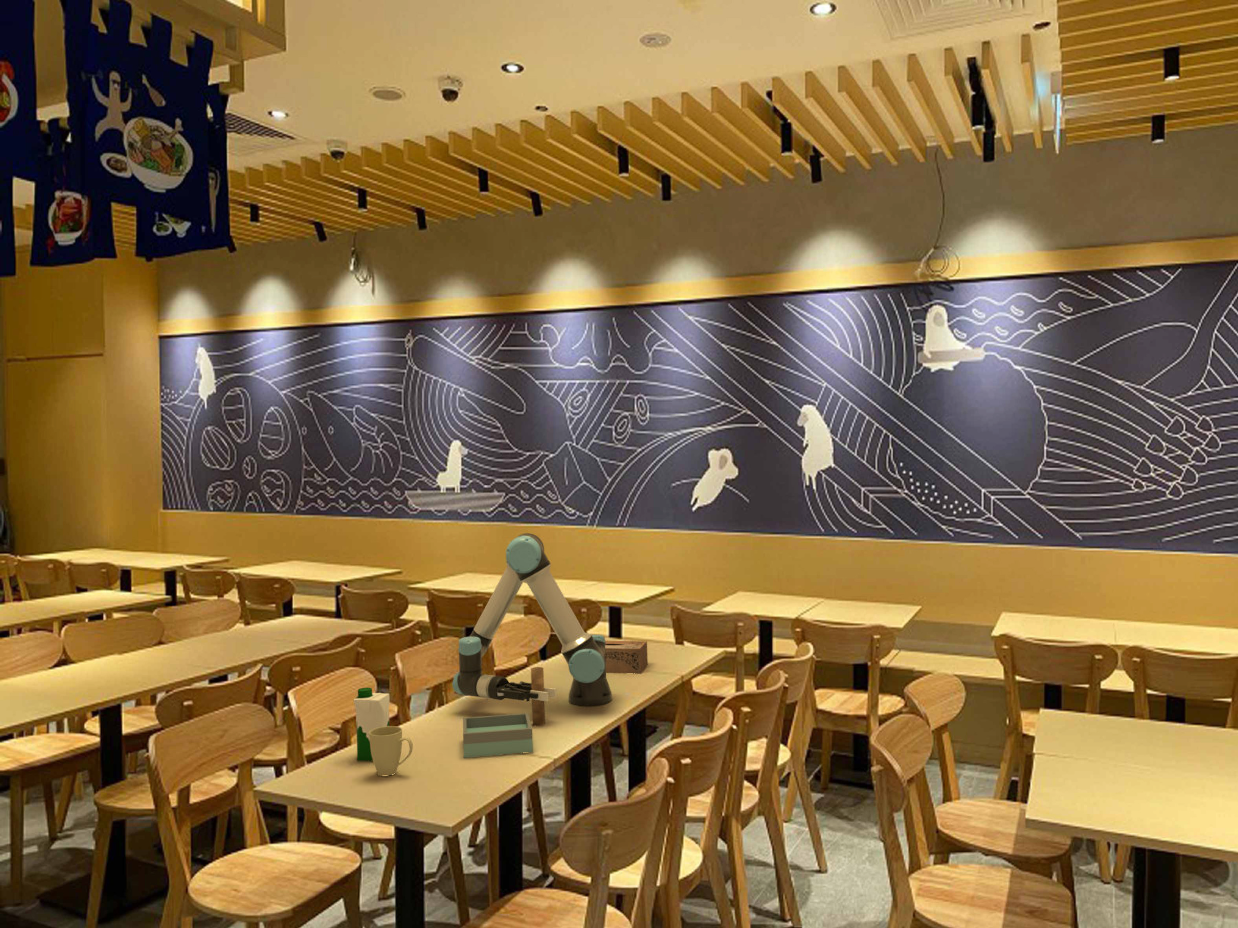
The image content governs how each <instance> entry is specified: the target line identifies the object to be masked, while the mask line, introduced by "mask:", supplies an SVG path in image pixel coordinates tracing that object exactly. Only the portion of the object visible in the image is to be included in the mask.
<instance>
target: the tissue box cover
mask: <svg viewBox="0 0 1238 928" xmlns="http://www.w3.org/2000/svg"><path fill="white" fill-rule="evenodd" d="M605 642H606V644H605V652H606V674H627V673H633V674H632V675H641V674H642V673H643V672H644V670H645V669H646V668H647V667H648V666H649V665H648V664H649V663H648V661H649V659H648V641H646V640H605ZM647 665H648V666H647ZM642 671H643V672H642ZM634 673H635V674H634Z"/></svg>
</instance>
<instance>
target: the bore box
mask: <svg viewBox="0 0 1238 928" xmlns="http://www.w3.org/2000/svg"><path fill="white" fill-rule="evenodd" d="M462 735H463V736H462V741H463V742H462V743H463V759H469V758H468V757H471V758H479V757H478V756H484V757H491V756H490V755H496V756H501V755H500V754H509V755H513V754H512V753H521V754H524V753H523V752H533V753H534V747H533V745H534V743H533V741H534V740H533V725H532V723H531V718H530V715H529V712H524V713H511V714H510V713H509V714H501V715H500V714H495V715H487V716H486V715H483V716H473V717H472V716H471V717H469V716H468V717H463V718H462Z"/></svg>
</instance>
